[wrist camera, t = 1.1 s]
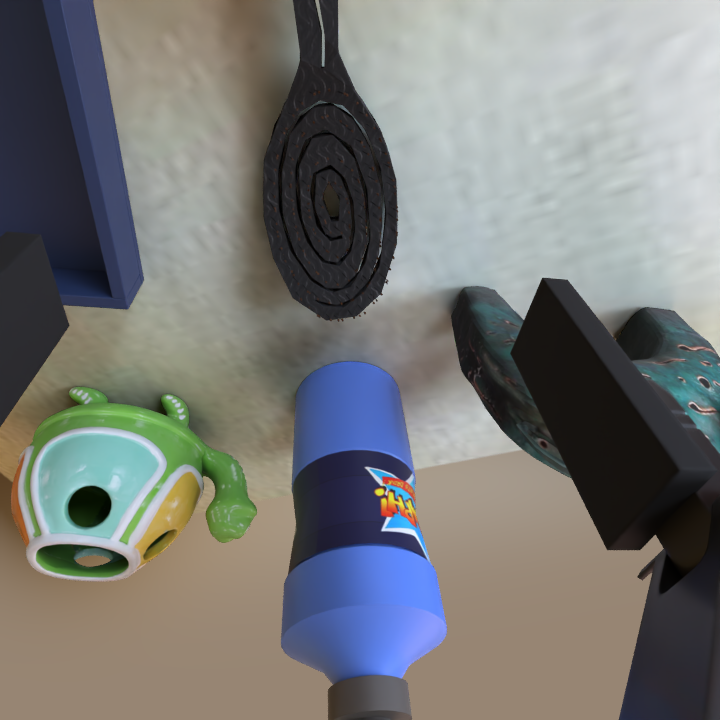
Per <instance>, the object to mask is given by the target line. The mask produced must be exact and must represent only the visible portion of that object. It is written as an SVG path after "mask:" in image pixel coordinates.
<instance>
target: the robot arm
mask: <svg viewBox="0 0 720 720" xmlns="http://www.w3.org/2000/svg"><path fill="white" fill-rule="evenodd" d="M68 327H69V323H68V320H67V317H66V313H65V310H64V307H63V304H62V301H61V297H60V294H59V291H58V288H57V285H56V281H55V278H54V275H53V272H52V269H51V266H50V262H49V259H48V256H47V253H46V250H45V246H44V243H43V240H42V237H41V234H30V233H19V232H5V233H4V234H3V235H2V236H1V237H0V427H1V425H2V424H3V422H4V421H5V419H6V418H7V416H8V415H9V413H10V412H11V411H12V409H13V408H14V406H15V405H16V403H17V402H18V400H19V399H20V397H21V396H22V394H23V393H24V391H25V390H26V389H27V387H28V386H29V384H30V383H31V381H32V380H33V378H34V377H35V375H36V374H37V372H38V371H39V369H40V368H41V367H42V365H43V364H44V362H45V361H46V359H47V358H48V356H49V355H50V353H51V352H52V350H53V349H54V347H55V346H56V345H57V343H58V342H59V340H60V339H61V337H62V336H63V334H64V333H65V331H66V330H67V328H68ZM510 354H511V356H512V358H513V360H514V362H515V364H516V366H517V368H518V370H519V372H520V374H521V376H522V378H523V380H524V382H525V384H526V386H527V388H528V390H529V392H530V394H531V397H532V399H533V401H534V403H535V405H536V407H537V409H538V411H539V413H540V415H541V417H542V419H543V421H544V423H545V425H546V427H547V429H548V431H549V433H550V435H551V437H552V439H553V441H554V443H555V445H556V447H557V449H558V451H559V453H560V455H561V457H562V459H563V461H564V463H565V465H566V467H567V469H568V472H569V474H570V476H571V478H572V480H573V482H574V484H575V486H576V487H577V490H578V492H579V494H580V496H581V498H582V500H583V502H584V504H585V506H586V508H587V510H588V512H589V514H590V516H591V518H592V520H593V522H594V524H595V526H596V528H597V530H598V532H599V534H600V536H601V538H602V540H603V542H604V545H605V546H606V548H607V550H640V549H642V547H644V545H646V543H647V542H648V541H649V540H650V539H651V538H652V537H653V536H654V535H655V534H656V536H657V538H658V539H659V541H660V543H661V544H662V546H663V548H664V549H663V550H662V551H661V552H660V553H659V554H658V555H657V556H656V557H655V558H654V559H653V560H652V561H651V562H650V563H649V564H647V565H646V567H644V568H643V569H642V570H641V572H640V573H639V575H638V578H639V579H641V580H643V579H644V578H645V577H647V576H648V575H649V574H650V573H652V577H651V582H650V586H649V590H648V595H647V599H646V604H645V608H644V612H643V616H642V621H641V625H640V630H639V634H638V638H637V643H636V647H635V651H634V656H633V660H632V665H631V669H630V673H629V678H628V682H627V686H626V691H625V695H624V699H623V704H622V708H621V713H620V717H619V720H720V453H719V452H718V451H717V449H716V448H715V447H714V446H713V445H712V443H711V442H710V441H709V440H708V438H707V437H706V436H705V435H704V434H703V432H702V431H701V430H700V429H697V428H696V426H697V425H696V424H695V423H694V421H693V420H692V419H691V418H690V416H689V415H685V410H684V409H683V408H682V407H681V405H680V404H679V403H678V402H677V401H676V399H675V398H674V397H673V396H672V395H671V394H670V393H669V392H667V391H666V390H665V389H664V388H662V387H661V386H660V385H658V384H657V383H656V382H654V381H653V380H649V379H645V378H644V376H643V375H642V374H641V373H640V371H639V370H638V369H637V367H636V366H635V365H634V364H633V362H632V361H631V360H630V359H629V357H628V356H627V355H626V353H625V352H624V351H623V350H622V348H621V347H620V346H619V345H618V343H617V342H616V341H615V340H614V338H613V337H612V336H611V334H610V333H609V332H608V331H607V329H606V328H605V327H604V326H603V324H602V323H601V322H600V320H599V319H598V318H597V317H596V315H595V314H594V313H593V312H592V310H591V309H590V308H589V306H588V305H587V304H586V303H585V301H584V300H583V299H582V298H581V296H580V295H579V294H578V293H577V291H576V290H575V289H574V287H573V286H572V285H571V284H570V282H569V281H568V280H563V279H551V278H542V280H541V282H540V285H539V287H538V289H537V292H536V294H535V296H534V299H533V301H532V303H531V306H530V308H529V310H528V313H527V315H526V317H525V320H524V322H523V324H522V327H521V329H520V331H519V334H518V336H517V338H516V341H515V343H514V345H513V348H512V350H511V352H510Z"/></svg>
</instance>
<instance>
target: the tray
mask: <svg viewBox="0 0 720 720" xmlns="http://www.w3.org/2000/svg"><path fill="white" fill-rule="evenodd" d="M5 232H19V233H30V234H41V237H42V240H43V243H44V246H45V250H46V253H47V256H48V259H49V262H50V266H51V269H52V272H53V275H54V278H55V281H56V285H57V288H58V291H59V294H60V297H61V301H62V304H63V305H69V306H84V307H99V308H114V309H129V307H130V305H131V303H132V301H133V299H134V297H135V296H136V294H137V292H138V290H139V288H140V286H141V284H142V283H143V281H144V277H143V272H142V266H141V261H140V255H139V250H138V244H137V239H136V234H135V228H134V223H133V217H132V212H131V206H130V201H129V195H128V190H127V184H126V179H125V174H124V168H123V163H122V157H121V152H120V146H119V141H118V135H117V130H116V124H115V119H114V114H113V108H112V103H111V97H110V92H109V86H108V81H107V75H106V70H105V64H104V59H103V54H102V48H101V43H100V37H99V32H98V26H97V21H96V15H95V10H94V4H93V0H0V237H1V236H2V235H3V234H4V233H5Z"/></svg>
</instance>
